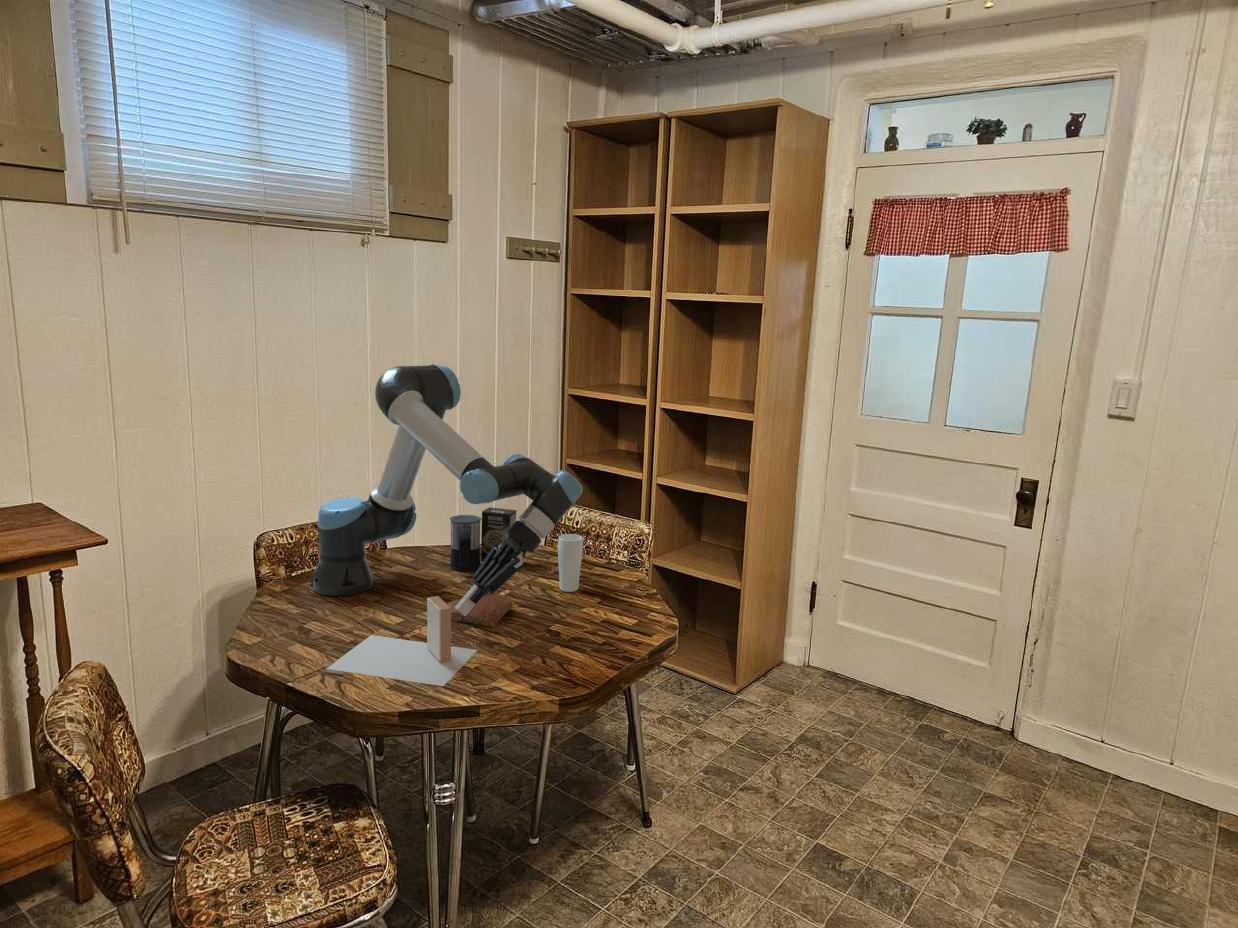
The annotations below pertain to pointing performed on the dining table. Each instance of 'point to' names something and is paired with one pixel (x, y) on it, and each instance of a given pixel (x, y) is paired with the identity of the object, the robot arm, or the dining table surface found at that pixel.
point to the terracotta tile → (439, 628)
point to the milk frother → (465, 542)
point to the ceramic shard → (483, 610)
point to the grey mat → (400, 661)
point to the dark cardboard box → (495, 528)
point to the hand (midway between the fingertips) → (459, 611)
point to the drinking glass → (569, 561)
